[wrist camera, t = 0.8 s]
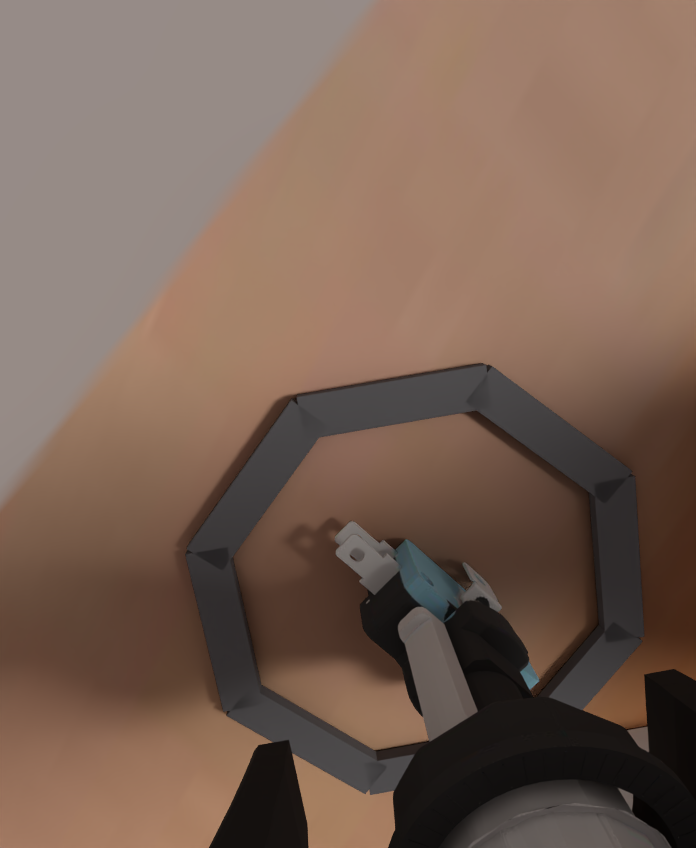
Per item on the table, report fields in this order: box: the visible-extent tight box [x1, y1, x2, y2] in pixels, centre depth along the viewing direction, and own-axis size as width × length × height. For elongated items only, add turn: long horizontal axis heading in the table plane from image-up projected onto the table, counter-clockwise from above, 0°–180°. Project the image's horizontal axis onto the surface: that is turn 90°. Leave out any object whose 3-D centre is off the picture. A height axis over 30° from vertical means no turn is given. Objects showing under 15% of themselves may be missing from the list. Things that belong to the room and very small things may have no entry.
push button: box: [335, 521, 696, 848], centre depth 13 cm, size 7×5×10 cm
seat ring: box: [185, 363, 644, 795], centre depth 18 cm, size 13×13×1 cm
